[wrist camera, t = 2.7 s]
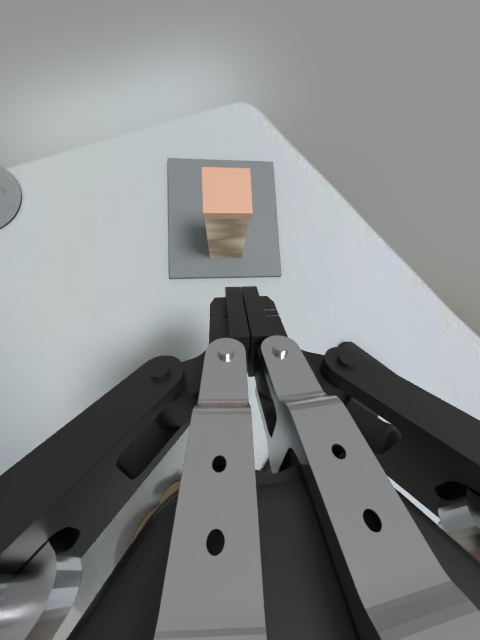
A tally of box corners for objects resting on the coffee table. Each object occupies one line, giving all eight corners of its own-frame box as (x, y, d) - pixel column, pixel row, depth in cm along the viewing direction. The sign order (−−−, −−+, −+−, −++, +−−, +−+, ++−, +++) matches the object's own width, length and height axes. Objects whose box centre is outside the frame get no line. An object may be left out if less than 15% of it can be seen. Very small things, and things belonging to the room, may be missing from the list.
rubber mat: (170, 278, 25) (169, 277, 25) (168, 161, 27) (167, 158, 27) (280, 276, 27) (281, 275, 26) (272, 164, 28) (273, 161, 28)
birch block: (209, 258, 26) (203, 212, 17) (208, 227, 26) (201, 166, 17) (241, 257, 26) (252, 213, 17) (240, 227, 27) (250, 168, 18)
